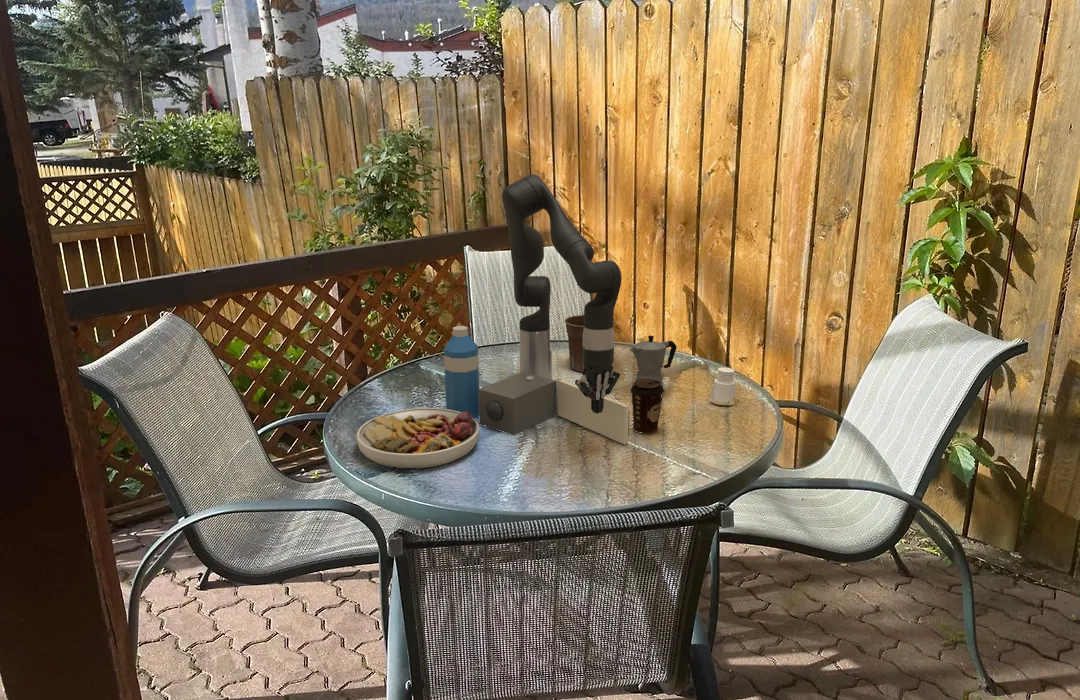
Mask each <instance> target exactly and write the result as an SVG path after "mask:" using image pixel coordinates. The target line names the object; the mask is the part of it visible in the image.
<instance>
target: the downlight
mask: <svg viewBox="0 0 1080 700" xmlns="http://www.w3.org/2000/svg"><path fill="white" fill-rule="evenodd" d="M734 378H735V369H733V368H730V367H718V368H717V373H716V378H715V379H714V383H713V387H712V388H711V392H710V393H711V396H712V398H713V400H714V401H715V400H716V401H719V402H720V401H721V402H728V401H731V400H733V399H735V398H734V395H735V397H736V396H737V395H736V394H737V392H736V381H735V379H734ZM712 398H711V399H712ZM733 401H734V400H733Z"/></svg>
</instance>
